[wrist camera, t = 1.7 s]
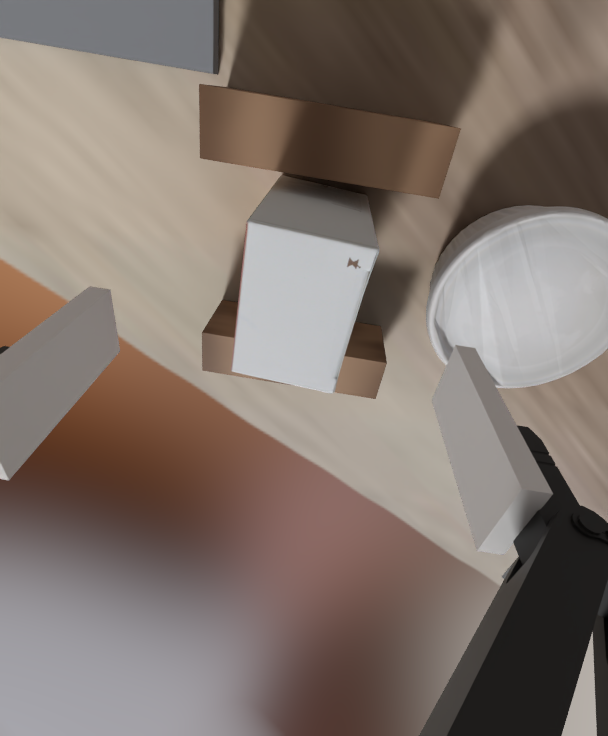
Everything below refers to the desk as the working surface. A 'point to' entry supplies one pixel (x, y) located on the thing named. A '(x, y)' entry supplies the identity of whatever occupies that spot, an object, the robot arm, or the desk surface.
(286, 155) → the walnut crossbar stand
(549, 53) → the desk surface
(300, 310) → the small box
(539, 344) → the ramekin
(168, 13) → the slate grey mat
